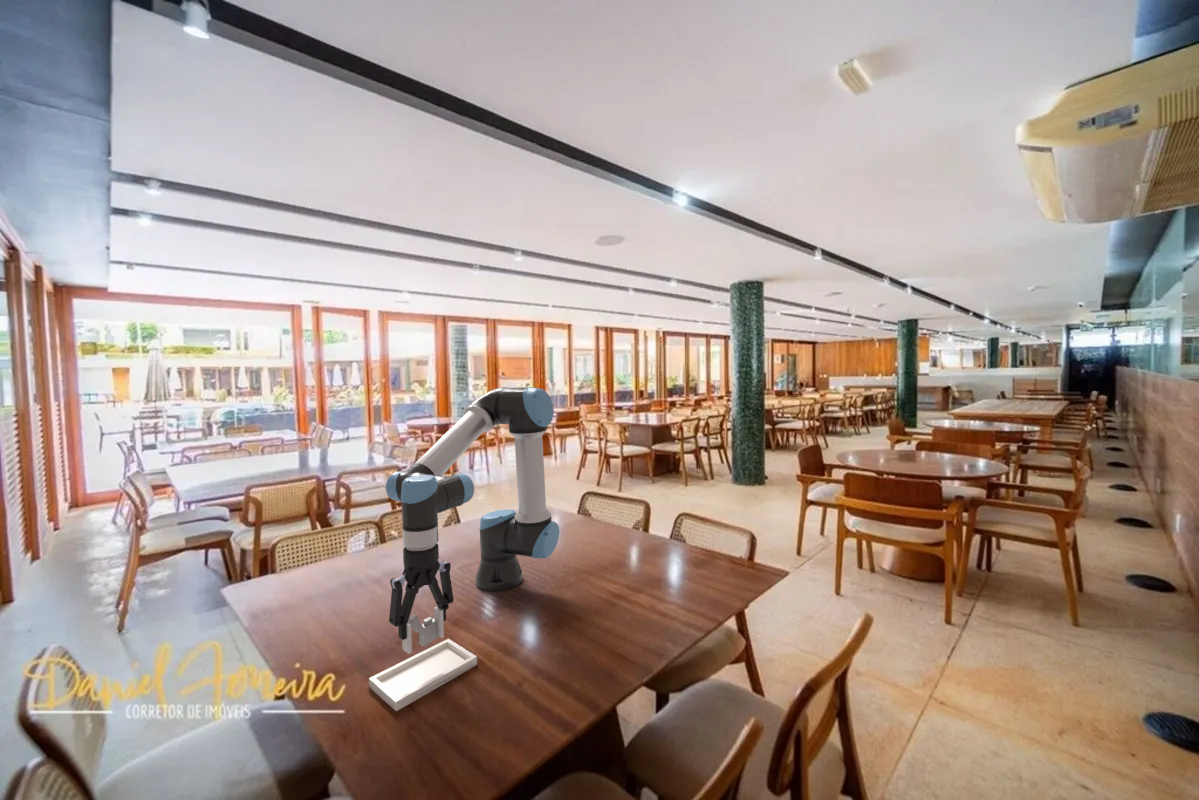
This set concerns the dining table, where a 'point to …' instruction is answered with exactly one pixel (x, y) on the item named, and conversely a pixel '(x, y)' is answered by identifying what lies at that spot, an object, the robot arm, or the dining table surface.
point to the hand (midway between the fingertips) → (423, 643)
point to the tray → (421, 673)
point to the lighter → (424, 629)
